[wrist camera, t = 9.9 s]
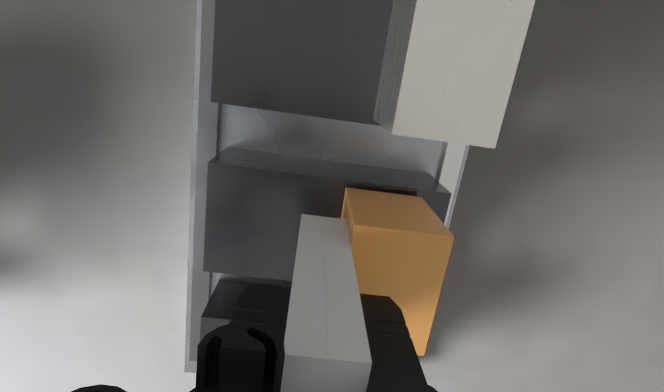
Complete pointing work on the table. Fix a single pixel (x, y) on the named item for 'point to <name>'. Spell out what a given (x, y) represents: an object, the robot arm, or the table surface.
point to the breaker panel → (330, 123)
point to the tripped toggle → (399, 254)
